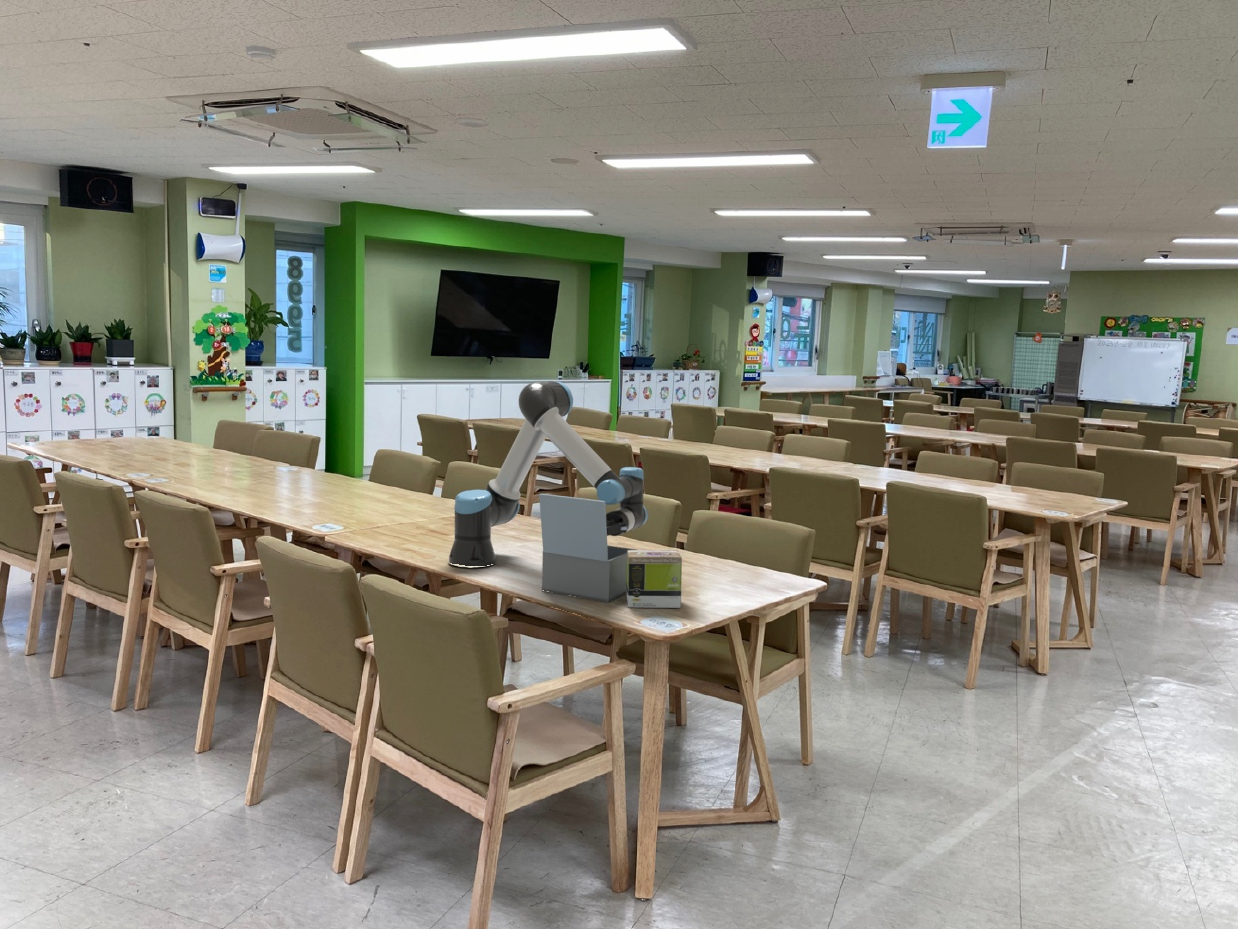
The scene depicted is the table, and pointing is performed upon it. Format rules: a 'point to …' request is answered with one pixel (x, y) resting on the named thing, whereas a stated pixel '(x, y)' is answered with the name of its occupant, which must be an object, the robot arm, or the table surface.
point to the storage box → (586, 575)
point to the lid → (574, 527)
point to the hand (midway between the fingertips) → (582, 535)
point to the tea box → (654, 578)
